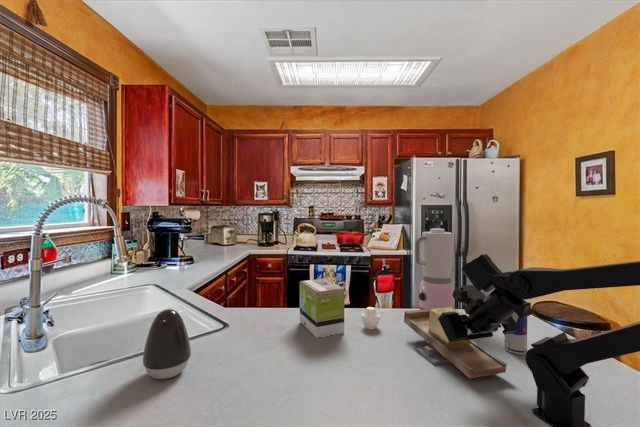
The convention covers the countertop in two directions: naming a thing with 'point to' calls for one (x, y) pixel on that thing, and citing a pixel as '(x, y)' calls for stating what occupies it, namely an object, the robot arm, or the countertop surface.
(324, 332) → the tea box
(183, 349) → the dark grey egg shape
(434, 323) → the tan boxy block
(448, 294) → the blender
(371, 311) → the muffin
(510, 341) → the energy drink
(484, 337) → the robot arm
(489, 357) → the seesaw beam
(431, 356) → the pivot stand
